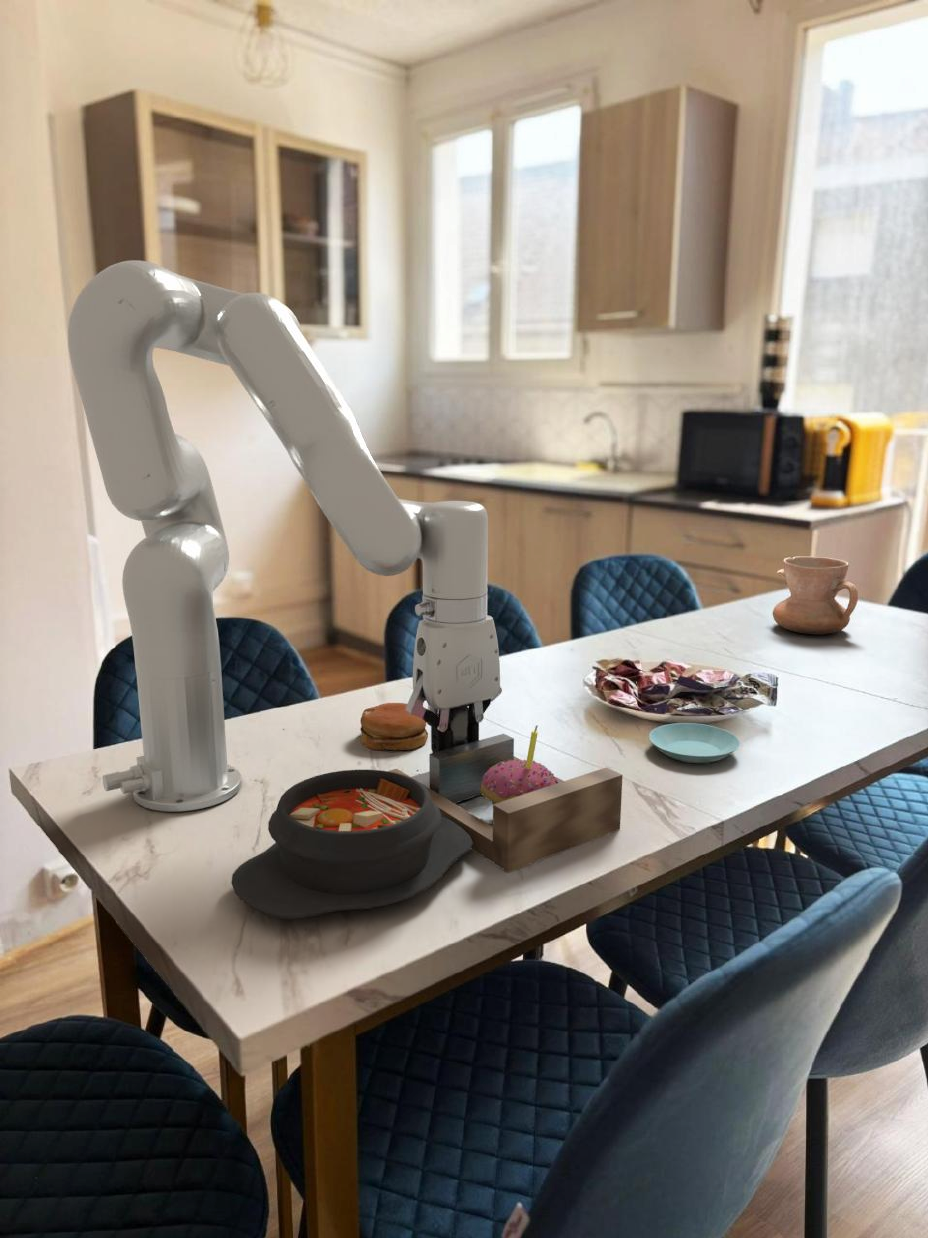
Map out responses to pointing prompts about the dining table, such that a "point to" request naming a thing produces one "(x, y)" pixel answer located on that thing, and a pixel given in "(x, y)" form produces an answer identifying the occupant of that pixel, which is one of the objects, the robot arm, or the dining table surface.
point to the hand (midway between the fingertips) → (455, 753)
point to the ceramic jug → (814, 595)
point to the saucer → (694, 742)
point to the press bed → (542, 819)
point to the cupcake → (516, 777)
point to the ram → (464, 760)
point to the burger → (392, 728)
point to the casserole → (350, 846)
